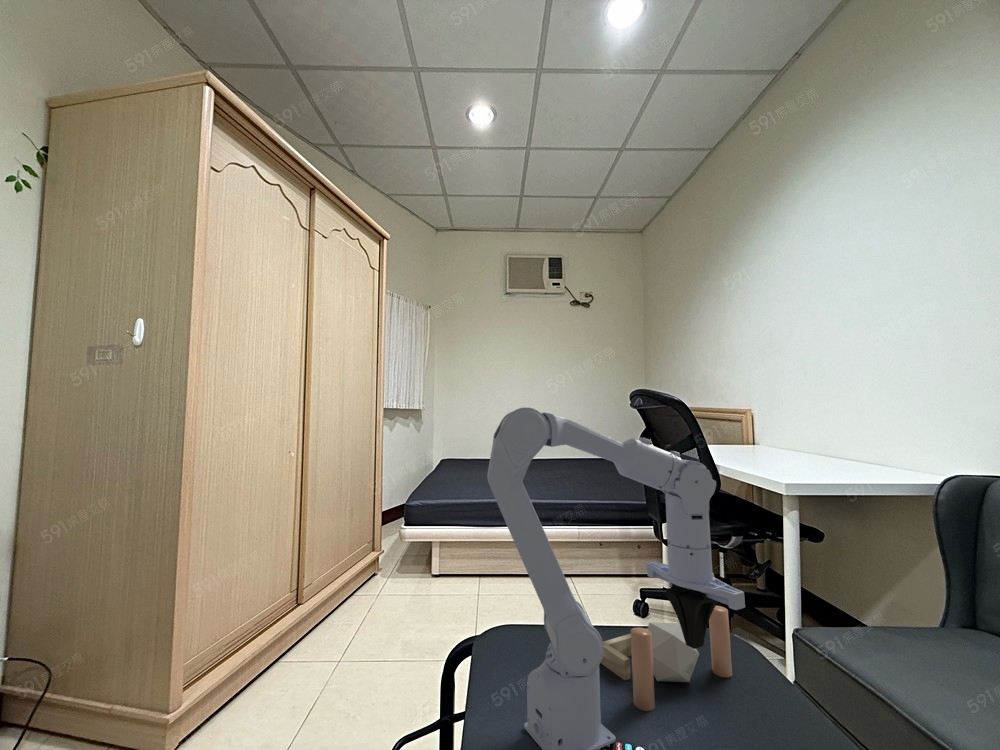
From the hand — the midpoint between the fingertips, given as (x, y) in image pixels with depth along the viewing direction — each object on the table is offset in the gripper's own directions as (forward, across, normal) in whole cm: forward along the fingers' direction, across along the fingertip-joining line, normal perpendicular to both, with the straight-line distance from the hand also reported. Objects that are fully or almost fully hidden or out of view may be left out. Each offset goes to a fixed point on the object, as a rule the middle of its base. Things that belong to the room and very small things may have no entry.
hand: (694, 645), depth 59 cm
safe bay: (+10, +16, -6) cm, 20 cm away
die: (+11, +10, -6) cm, 16 cm away
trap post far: (+10, +7, -15) cm, 20 cm away
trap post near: (+10, +7, +3) cm, 13 cm away
